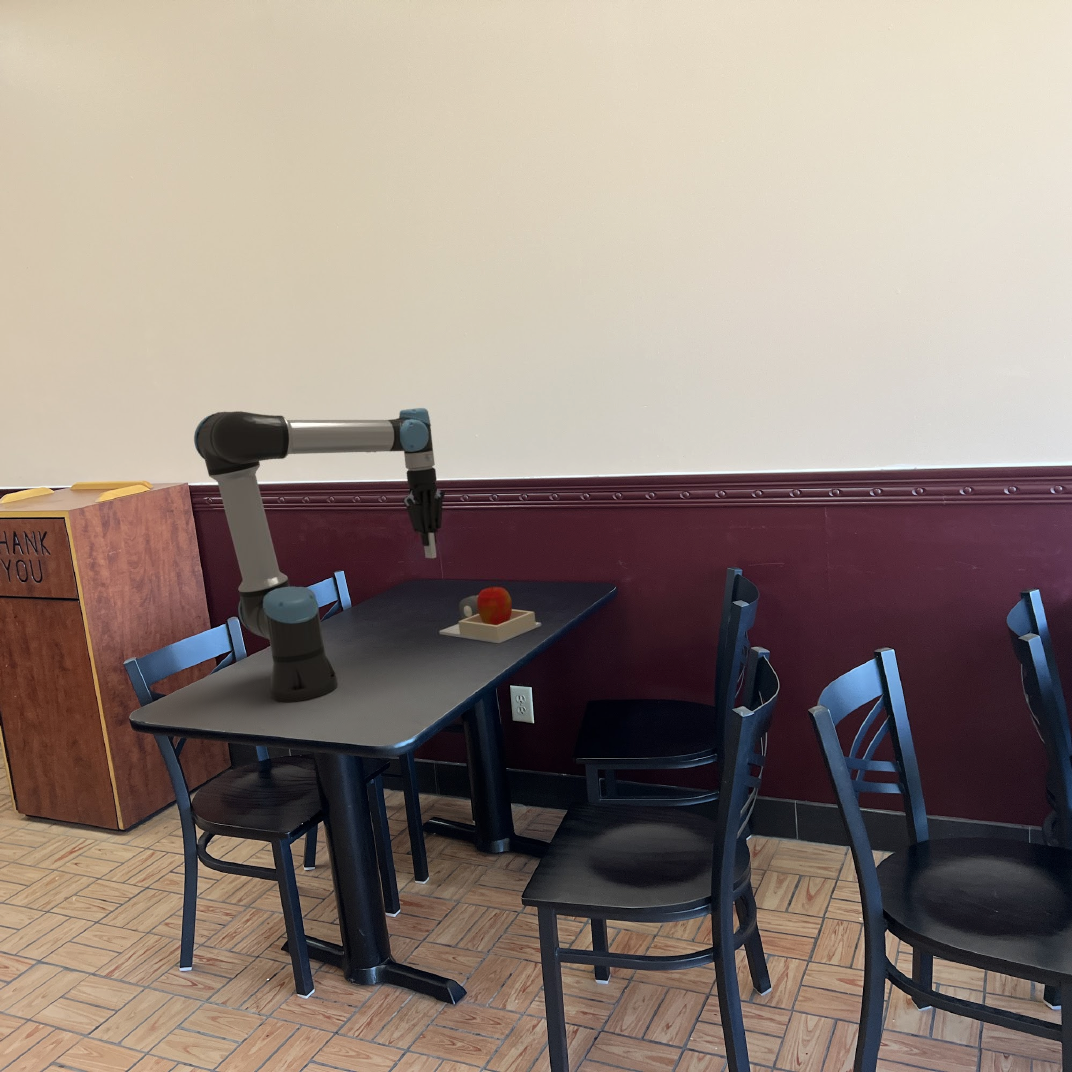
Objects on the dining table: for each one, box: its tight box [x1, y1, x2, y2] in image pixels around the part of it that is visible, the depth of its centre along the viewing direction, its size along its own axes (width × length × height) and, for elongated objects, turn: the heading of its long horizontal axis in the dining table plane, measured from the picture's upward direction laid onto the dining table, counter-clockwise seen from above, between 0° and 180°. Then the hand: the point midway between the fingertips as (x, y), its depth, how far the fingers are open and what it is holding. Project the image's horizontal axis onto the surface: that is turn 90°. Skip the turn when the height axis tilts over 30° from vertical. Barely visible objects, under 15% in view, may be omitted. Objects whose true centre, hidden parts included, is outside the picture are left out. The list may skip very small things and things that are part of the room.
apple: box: [477, 584, 513, 625], centre depth 252 cm, size 9×9×12 cm
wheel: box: [458, 595, 479, 620], centre depth 263 cm, size 8×7×7 cm
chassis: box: [438, 594, 542, 644], centre depth 256 cm, size 16×22×7 cm
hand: (431, 557), depth 256 cm, fingers closed
